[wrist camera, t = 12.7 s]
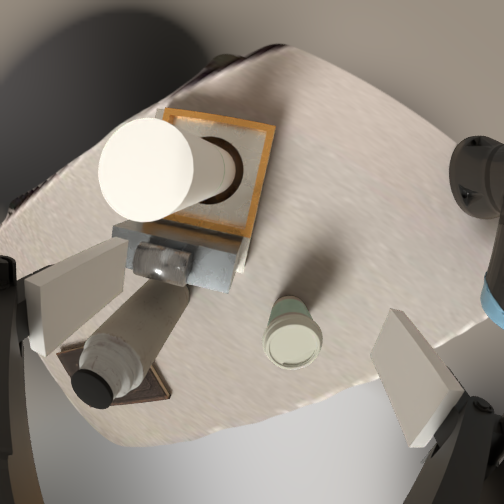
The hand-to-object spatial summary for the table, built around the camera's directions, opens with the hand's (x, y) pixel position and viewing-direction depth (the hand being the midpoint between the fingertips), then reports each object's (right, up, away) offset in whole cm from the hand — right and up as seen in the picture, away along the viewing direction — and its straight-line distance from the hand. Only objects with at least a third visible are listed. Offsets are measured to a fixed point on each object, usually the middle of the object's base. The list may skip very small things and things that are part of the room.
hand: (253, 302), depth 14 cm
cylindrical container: (-6, +14, +30) cm, 33 cm away
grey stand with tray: (-8, +12, +34) cm, 37 cm away
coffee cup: (+6, -8, +38) cm, 40 cm away
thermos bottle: (-15, -5, +39) cm, 42 cm away
